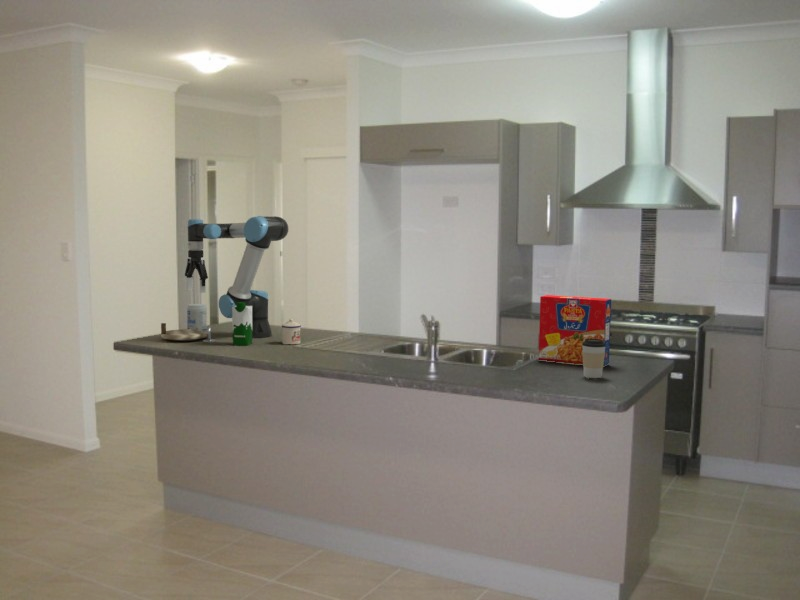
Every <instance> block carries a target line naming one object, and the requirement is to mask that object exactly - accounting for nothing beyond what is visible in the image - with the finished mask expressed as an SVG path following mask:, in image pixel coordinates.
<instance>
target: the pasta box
mask: <svg viewBox="0 0 800 600" xmlns="http://www.w3.org/2000/svg"><path fill="white" fill-rule="evenodd" d="M539 302H540V303H539V304H540V305H539V331H538V334H539V336H538V361H539V360H547V361H555V362H564V363H574V364H583V355H582V351H583V346H582V344H583V342H584V341H585V339H601V340H603V342H604V343H605V345H606V346H605V357H604V365H603V366H605V365H607V364H608V363H610V345H611V344H610V343H611V342H610V341H611V316H612V299H611V298H602V297H601V298H600V297H584V296H583V297H582V296H571V295H570V296H569V295H568V296H567V295H556V294H555V295H553V294H545V295H541V296H540V299H539Z"/></svg>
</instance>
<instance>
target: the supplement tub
mask: <svg viewBox="0 0 800 600" xmlns="http://www.w3.org/2000/svg"><path fill="white" fill-rule="evenodd" d="M186 313H187V315H186V317H187V318H186V319H187V321H186V324H187V326H186V327H187V329H196V330H205V331H207V318H208V317H207V314H208V312H207V304H205V303H189V304H187V311H186Z"/></svg>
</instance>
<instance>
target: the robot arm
mask: <svg viewBox="0 0 800 600" xmlns="http://www.w3.org/2000/svg"><path fill="white" fill-rule="evenodd" d="M288 233H289V225H288V222H287V221H286V220H285V219H284V218H283V217H280V216H275V215H274V216H262V215H258V216H253V217H250V218H248V219H247V220H246V222H233V223H232V222H231V223H204V220H203V219H201V218H199V219H197V218H196V219H195V218H194V219H193V218H191V219H188V220H187V241H188V242H187V248H188V250H187V253H188V255H187V256H188V258H187V259H186V260H187V261H186V262H187V264H186V267H185V272H184V276H185V277H186V285H187V286H186V289H187V290H186V291H193V290H194V287H193V286H194V283H193V282H194V281H193V280H194V276H193V275H194V272H195V270H197V273H198V275H199V293H200V294H204V293H206V280H207V279H208V278H209V276H208V273H207V268H206V264H205V263H206V262H205V259H203V258H204V239H209V240H216V239H218V240H219V239H243V238H245V239H244V241H245V242H246V246H245V250H244V252H243V255H242V257H241V261H240V264H239V266H238V269H237V272H236V276H235V278H234V281H233V284H232V285H231V286H229V287H228V288H227V291H226V293H224V294H222V295H221V296H220V297H219V299H218V308H219V312H220V313H221V315H222V316H223V317H225V318H226V319H232V307H234V306H237V302H245V306H252V339H253V338H254V339H257V338H260V339H261V338H269V337H272V336H273V333H272V332H273V331H272V328H271V326H270V322H269V297H268V292H267V291H265V290H256V289H255V290H254V289H252V286H253V283H254V281H255V279H256V278H255V277H256V275H257V272H258V269H259V267H260V264H261V261H262V258H263V256H264V252H265V251H266V250H267V249H269V248H270V246H271V243H272V242H278V241H281V240H283V239H285V238H286V237H287V236H288Z"/></svg>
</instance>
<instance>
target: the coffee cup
mask: <svg viewBox="0 0 800 600" xmlns="http://www.w3.org/2000/svg"><path fill="white" fill-rule="evenodd" d="M582 346H583V351H582V355H583V366H582V367H583V377H584V376H585V377H595V378H596V377H601V376H602V377H603V370H604V368H603V365H604V357H605V346H606V345H605V343H604V342H603V340H601V339H585V341H584V342H583V344H582ZM585 377H584V378H585Z"/></svg>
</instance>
